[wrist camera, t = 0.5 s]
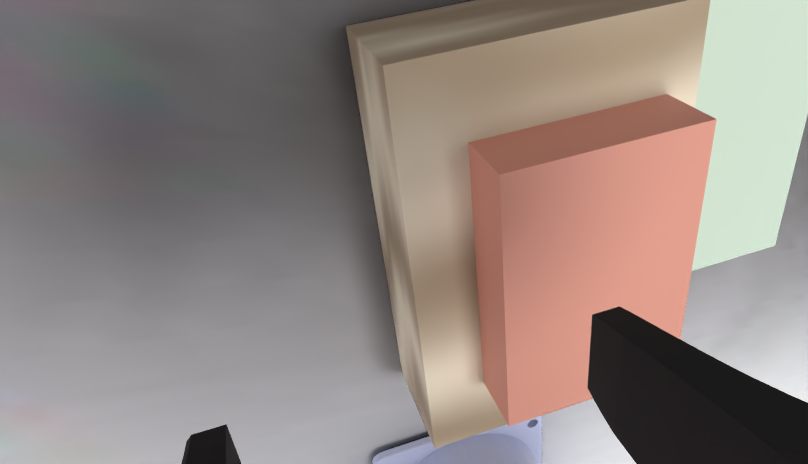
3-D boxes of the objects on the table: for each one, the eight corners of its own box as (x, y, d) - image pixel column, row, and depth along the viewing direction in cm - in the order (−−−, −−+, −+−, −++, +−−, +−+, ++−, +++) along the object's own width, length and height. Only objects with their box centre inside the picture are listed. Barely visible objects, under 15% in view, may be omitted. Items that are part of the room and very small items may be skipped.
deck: (599, 311, 28) (656, 373, 24) (402, 372, 26) (434, 448, 23) (623, -30, 20) (711, -5, 17) (345, 25, 18) (382, 65, 15)
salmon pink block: (639, 332, 23) (675, 370, 21) (483, 382, 22) (508, 426, 20) (667, 93, 18) (716, 119, 16) (468, 142, 17) (499, 175, 15)
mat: (769, 242, 29) (774, 245, 28) (621, 286, 27) (626, 291, 27) (838, -43, 22) (846, -42, 22) (648, -3, 21) (654, -1, 20)
